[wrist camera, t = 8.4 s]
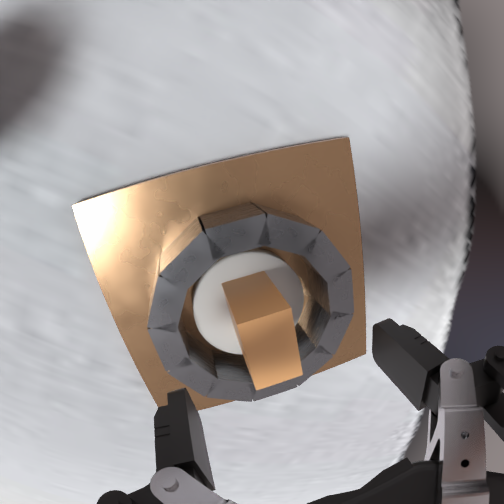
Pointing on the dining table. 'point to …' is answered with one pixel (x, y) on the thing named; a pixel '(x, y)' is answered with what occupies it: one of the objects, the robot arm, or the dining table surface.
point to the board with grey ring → (225, 244)
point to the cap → (252, 313)
